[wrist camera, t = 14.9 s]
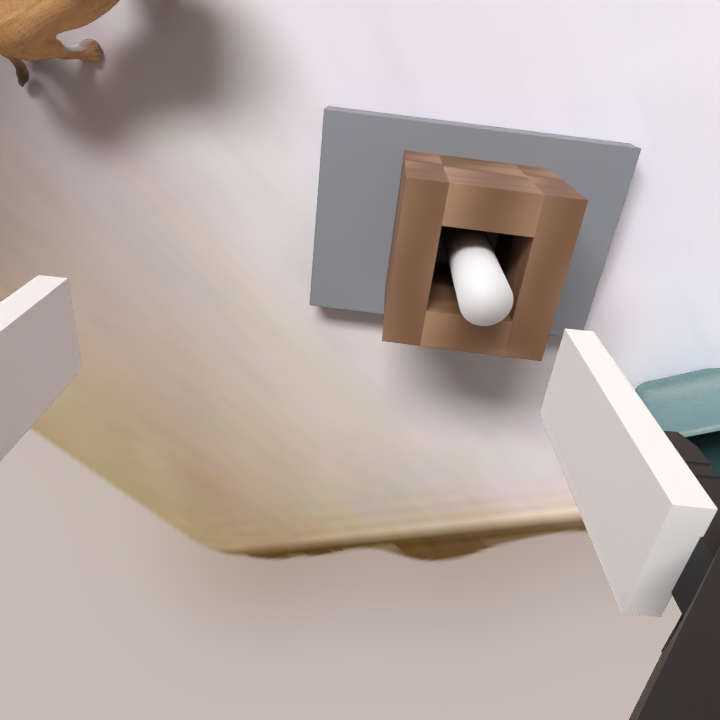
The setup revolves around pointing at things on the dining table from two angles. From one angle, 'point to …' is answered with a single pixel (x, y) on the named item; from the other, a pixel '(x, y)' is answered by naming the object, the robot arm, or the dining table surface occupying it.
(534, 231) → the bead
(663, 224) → the dining table surface
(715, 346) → the dining table surface
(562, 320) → the spindle stand
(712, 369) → the flower pot
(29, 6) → the lion figurine
